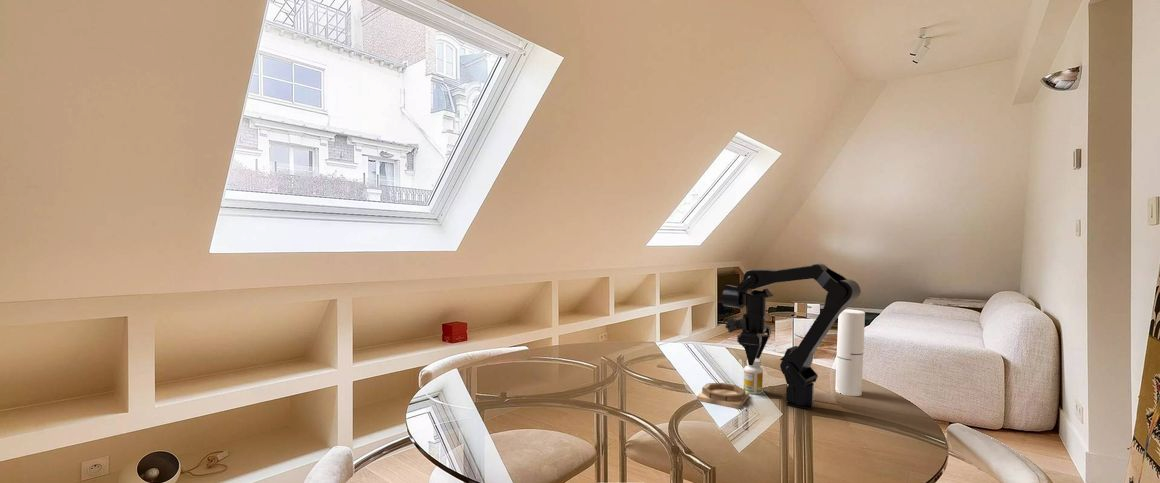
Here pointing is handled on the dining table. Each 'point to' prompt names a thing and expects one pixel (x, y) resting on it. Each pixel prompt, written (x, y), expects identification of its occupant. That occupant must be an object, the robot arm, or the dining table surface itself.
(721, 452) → the dining table surface
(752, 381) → the supplement bottle
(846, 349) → the cylindrical container
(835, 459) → the dining table surface
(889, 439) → the dining table surface
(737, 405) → the hub plate
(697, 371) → the dining table surface
